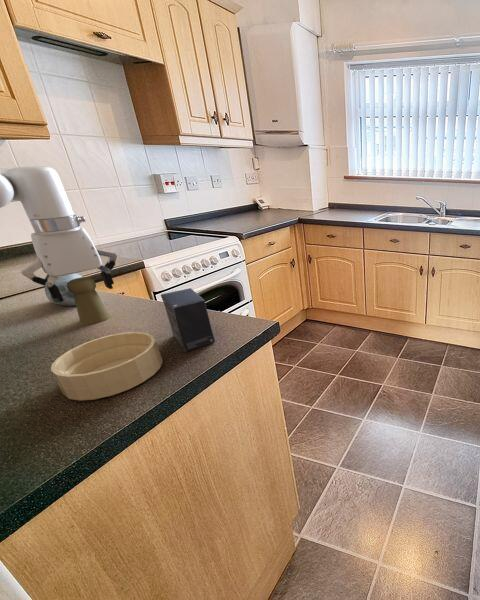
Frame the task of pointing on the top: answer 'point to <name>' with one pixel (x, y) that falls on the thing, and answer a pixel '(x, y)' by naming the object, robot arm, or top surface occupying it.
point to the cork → (87, 301)
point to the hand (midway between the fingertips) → (86, 293)
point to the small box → (188, 318)
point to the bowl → (107, 365)
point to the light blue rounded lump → (63, 290)
